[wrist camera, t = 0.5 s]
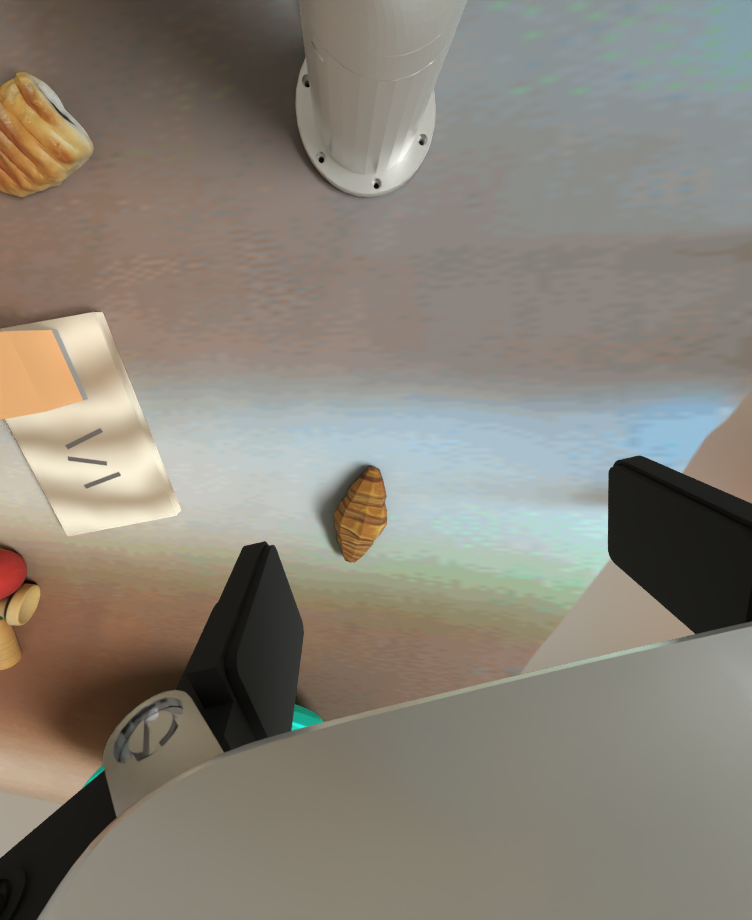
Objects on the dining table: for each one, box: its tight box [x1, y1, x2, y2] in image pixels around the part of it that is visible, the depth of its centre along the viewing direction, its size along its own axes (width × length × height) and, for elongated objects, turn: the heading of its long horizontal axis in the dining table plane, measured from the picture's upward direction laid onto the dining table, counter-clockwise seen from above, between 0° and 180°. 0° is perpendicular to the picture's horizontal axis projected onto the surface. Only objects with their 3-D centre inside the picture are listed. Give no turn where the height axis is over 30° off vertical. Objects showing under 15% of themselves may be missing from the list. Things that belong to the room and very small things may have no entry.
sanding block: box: [0, 330, 88, 420], centre depth 36 cm, size 7×5×6 cm
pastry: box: [0, 72, 94, 197], centre depth 32 cm, size 9×7×4 cm
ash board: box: [0, 312, 181, 536], centre depth 41 cm, size 23×13×2 cm, turn 10°
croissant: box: [334, 467, 387, 562], centre depth 47 cm, size 14×7×5 cm, turn 166°
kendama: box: [0, 549, 40, 670], centre depth 47 cm, size 8×6×18 cm
